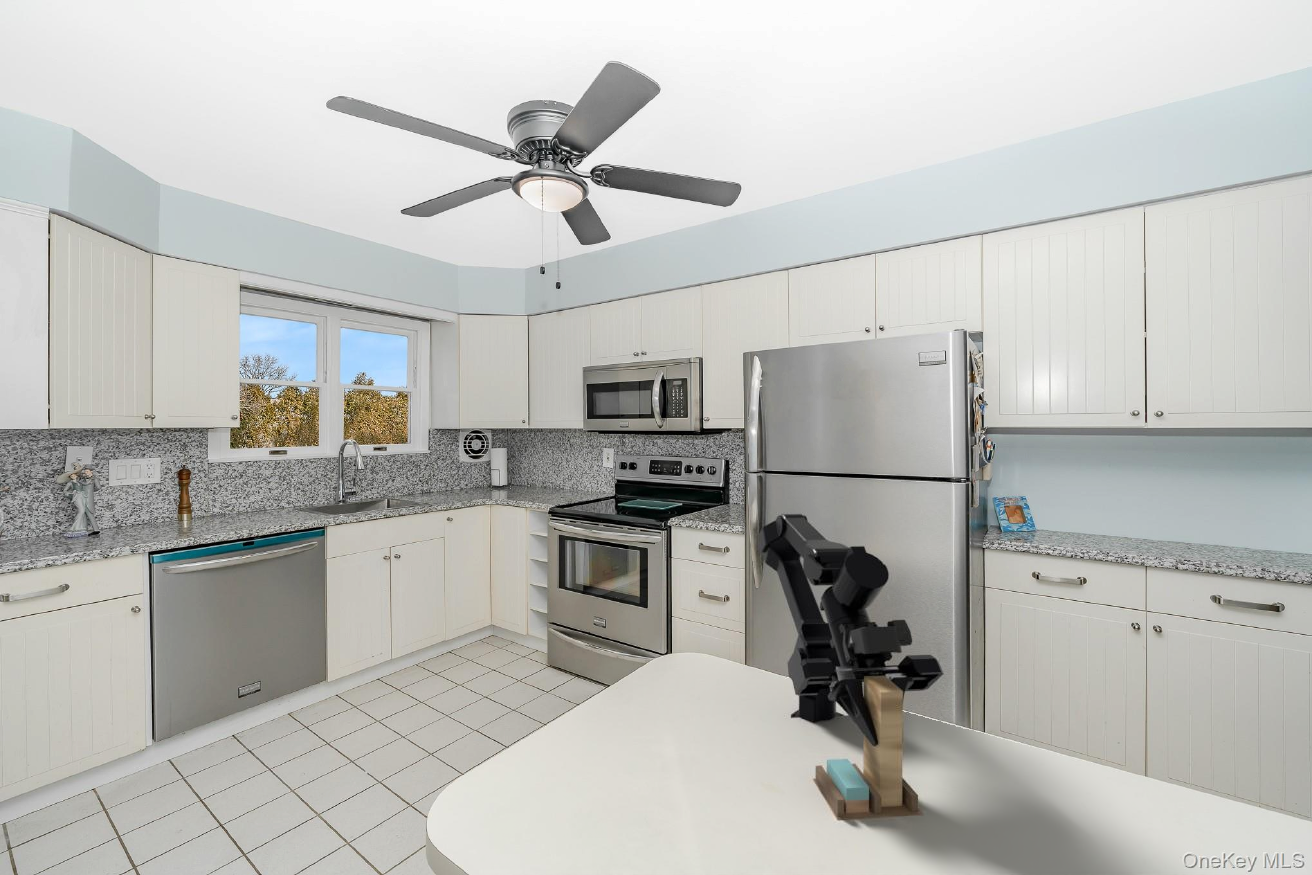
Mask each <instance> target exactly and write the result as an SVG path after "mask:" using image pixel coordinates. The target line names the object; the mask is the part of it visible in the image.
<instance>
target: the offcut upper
mask: <svg viewBox="0 0 1312 875" xmlns="http://www.w3.org/2000/svg"><path fill="white" fill-rule="evenodd" d="M852 764H853V763H851V761H850V760H849V758H835V759H826V773H827V772H828V774H829V775H830V777H831V778H832V780H833V781H834V783H835V784H836V786H837V787H838V789H839V791H840V792H841V794H842V795H843V797H844V798H845V800H846V801H853V800H869V786H868V785H867V784H866V782H865V781H864V780H863V779H862V777H861V776H860V775H859V773H858V772H857V771H856V769H855V768H854V767H853V765H852Z"/></svg>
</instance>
